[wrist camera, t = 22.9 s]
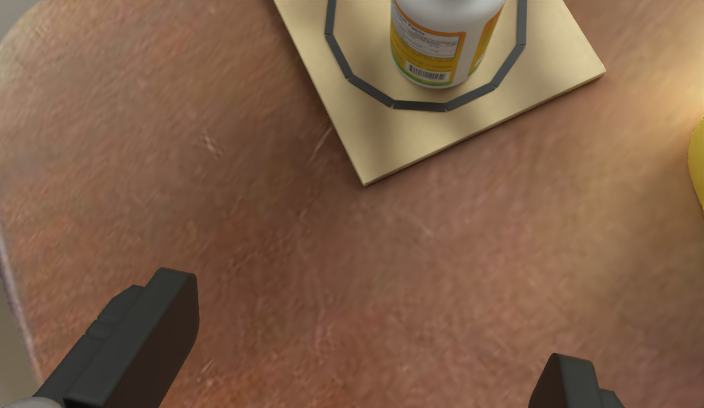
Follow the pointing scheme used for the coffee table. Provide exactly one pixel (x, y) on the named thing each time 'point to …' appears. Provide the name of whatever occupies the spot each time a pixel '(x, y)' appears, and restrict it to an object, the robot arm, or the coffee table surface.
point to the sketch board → (421, 102)
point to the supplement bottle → (441, 38)
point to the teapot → (697, 161)
